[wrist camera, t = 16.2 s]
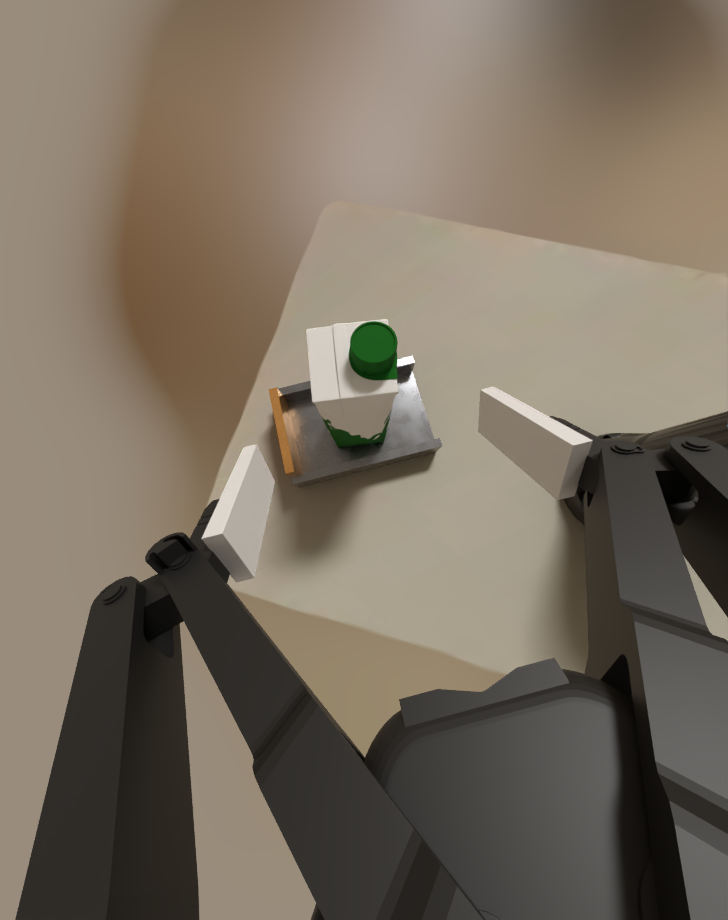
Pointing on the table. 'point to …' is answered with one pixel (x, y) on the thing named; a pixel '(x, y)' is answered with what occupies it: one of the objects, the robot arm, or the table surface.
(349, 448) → the rail channel
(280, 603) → the table surface
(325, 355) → the soya milk
